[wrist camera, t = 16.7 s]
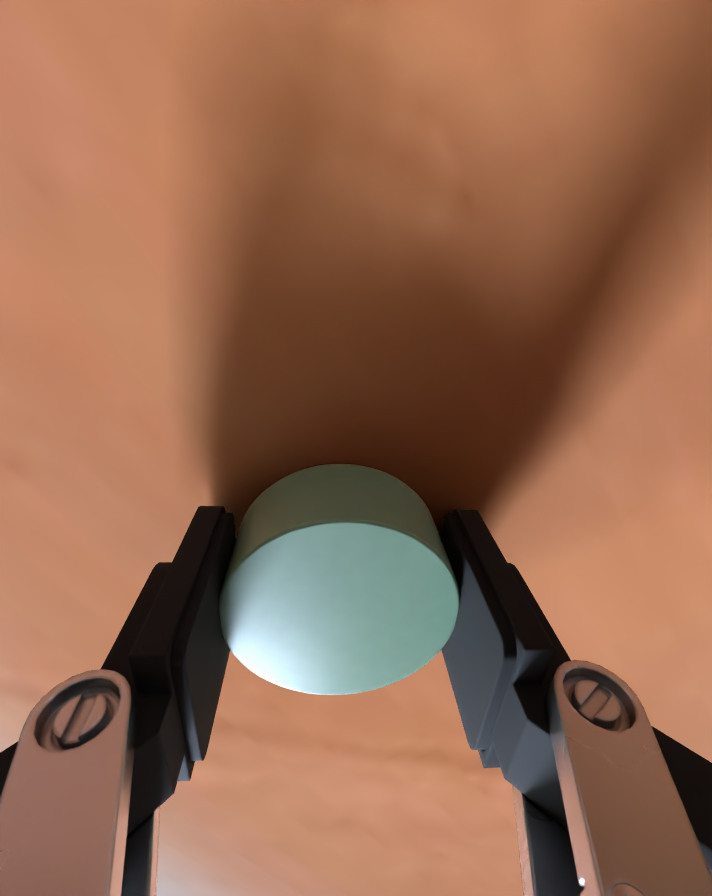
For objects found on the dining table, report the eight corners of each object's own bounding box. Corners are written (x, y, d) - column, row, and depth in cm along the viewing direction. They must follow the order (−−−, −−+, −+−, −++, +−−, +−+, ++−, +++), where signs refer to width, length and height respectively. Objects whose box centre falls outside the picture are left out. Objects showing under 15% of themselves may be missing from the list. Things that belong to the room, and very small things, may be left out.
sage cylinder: (475, 521, 11) (510, 585, 9) (364, 642, 12) (372, 719, 10) (303, 423, 9) (296, 475, 7) (203, 576, 11) (176, 652, 9)
